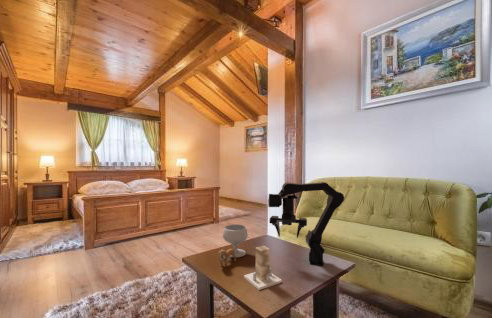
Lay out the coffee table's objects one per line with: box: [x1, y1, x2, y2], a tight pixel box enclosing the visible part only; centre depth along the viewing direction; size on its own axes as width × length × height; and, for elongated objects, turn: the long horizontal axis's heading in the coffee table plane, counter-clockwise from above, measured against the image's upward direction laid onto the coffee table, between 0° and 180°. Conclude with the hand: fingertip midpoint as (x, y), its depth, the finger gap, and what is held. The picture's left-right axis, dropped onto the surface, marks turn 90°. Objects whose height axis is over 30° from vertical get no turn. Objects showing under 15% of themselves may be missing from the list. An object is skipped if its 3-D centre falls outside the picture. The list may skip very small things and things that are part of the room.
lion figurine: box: [217, 248, 237, 268], centre depth 120 cm, size 15×5×9 cm, turn 156°
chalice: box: [222, 224, 249, 258], centre depth 132 cm, size 14×14×15 cm
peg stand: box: [243, 267, 283, 291], centre depth 103 cm, size 12×12×4 cm
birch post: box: [255, 245, 271, 281], centre depth 103 cm, size 4×4×13 cm
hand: (288, 237), depth 121 cm, fingers open, 9 cm apart
